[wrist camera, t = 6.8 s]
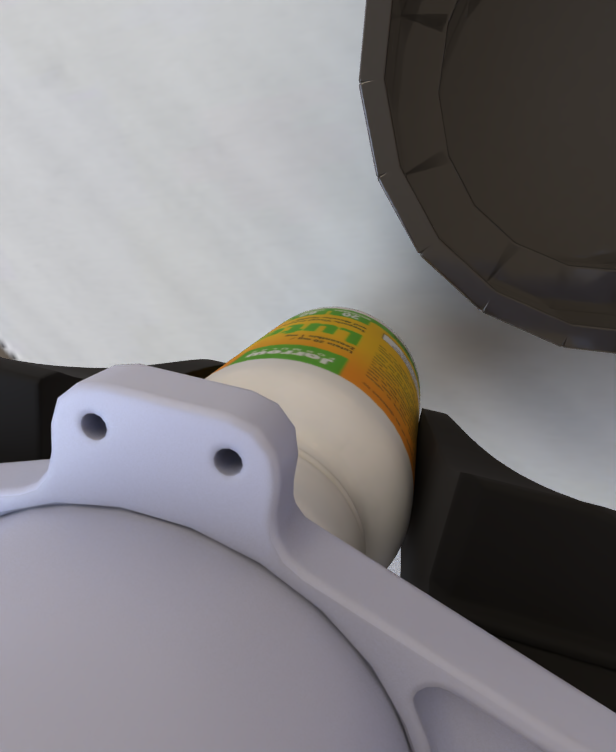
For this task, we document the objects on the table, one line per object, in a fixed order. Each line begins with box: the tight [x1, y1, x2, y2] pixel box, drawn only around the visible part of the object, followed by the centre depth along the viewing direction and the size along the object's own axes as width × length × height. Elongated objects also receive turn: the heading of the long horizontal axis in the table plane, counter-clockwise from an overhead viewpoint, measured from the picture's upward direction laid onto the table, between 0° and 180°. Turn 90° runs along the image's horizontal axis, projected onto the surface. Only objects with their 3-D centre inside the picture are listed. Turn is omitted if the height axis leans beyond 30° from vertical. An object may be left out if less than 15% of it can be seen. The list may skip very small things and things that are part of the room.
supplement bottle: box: [205, 307, 420, 568], centre depth 12 cm, size 5×5×10 cm
